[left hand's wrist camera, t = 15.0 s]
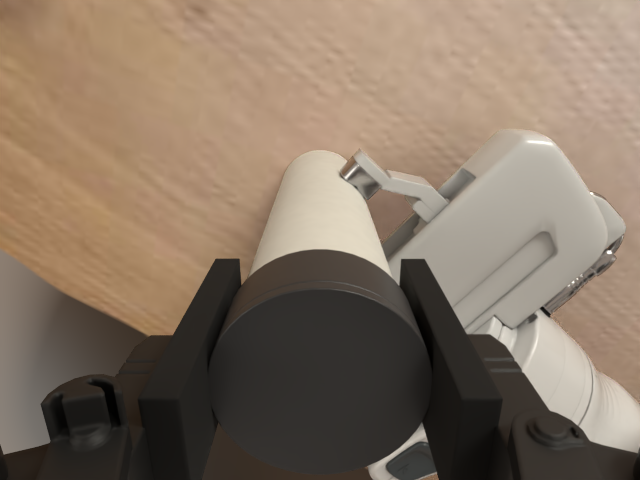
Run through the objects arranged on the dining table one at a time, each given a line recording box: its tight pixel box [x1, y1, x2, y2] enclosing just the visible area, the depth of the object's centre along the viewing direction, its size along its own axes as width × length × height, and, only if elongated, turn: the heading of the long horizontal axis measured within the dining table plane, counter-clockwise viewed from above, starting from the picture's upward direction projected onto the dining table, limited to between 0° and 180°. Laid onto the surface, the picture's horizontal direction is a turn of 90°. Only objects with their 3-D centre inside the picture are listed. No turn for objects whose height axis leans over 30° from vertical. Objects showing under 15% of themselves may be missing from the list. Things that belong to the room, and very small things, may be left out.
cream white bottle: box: [247, 150, 393, 279], centre depth 20 cm, size 5×5×19 cm
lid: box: [208, 249, 433, 474], centre depth 11 cm, size 5×5×2 cm
